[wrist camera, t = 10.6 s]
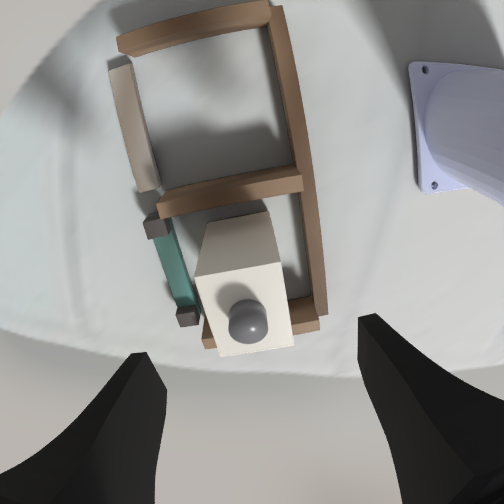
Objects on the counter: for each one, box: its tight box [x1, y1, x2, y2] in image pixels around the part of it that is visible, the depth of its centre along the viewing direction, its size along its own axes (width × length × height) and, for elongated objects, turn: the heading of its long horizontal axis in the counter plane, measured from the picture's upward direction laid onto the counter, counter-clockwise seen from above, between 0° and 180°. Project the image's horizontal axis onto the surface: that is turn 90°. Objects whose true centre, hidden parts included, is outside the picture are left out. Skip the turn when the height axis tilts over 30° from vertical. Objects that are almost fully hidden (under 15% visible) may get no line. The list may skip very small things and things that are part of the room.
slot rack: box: [109, 0, 328, 349], centre depth 16 cm, size 9×18×2 cm, turn 11°
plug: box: [194, 211, 294, 357], centre depth 16 cm, size 4×4×7 cm
